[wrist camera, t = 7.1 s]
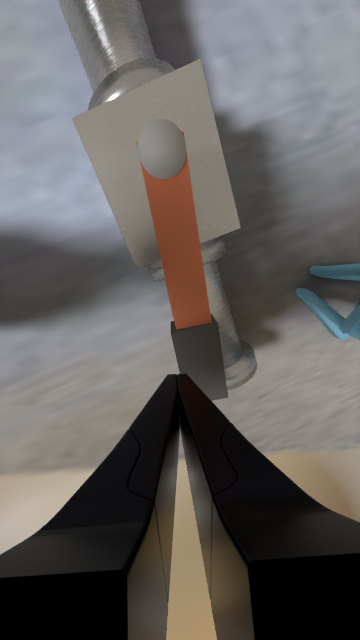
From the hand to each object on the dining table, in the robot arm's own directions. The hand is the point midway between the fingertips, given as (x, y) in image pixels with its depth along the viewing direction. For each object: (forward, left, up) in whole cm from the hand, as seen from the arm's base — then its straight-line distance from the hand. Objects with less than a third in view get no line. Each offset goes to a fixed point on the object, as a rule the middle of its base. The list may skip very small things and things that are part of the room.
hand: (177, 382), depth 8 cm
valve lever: (+2, +3, -6) cm, 7 cm away
